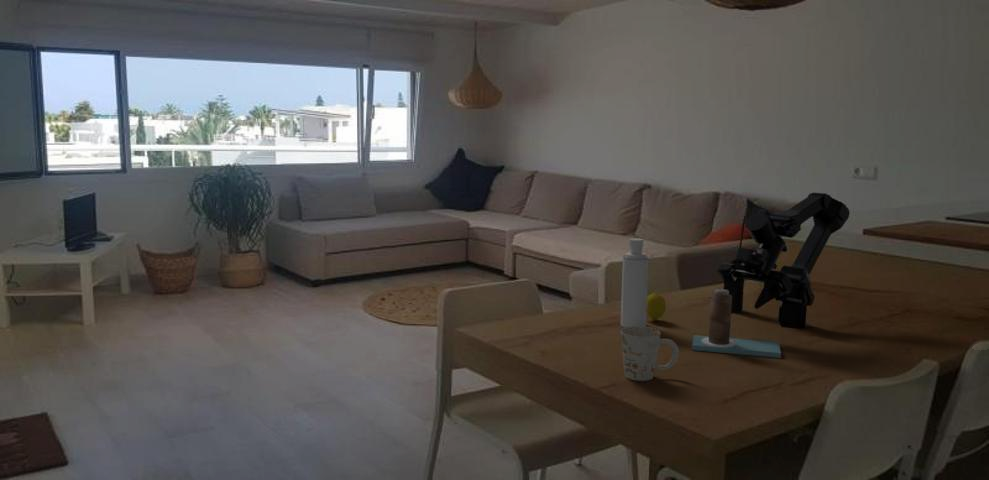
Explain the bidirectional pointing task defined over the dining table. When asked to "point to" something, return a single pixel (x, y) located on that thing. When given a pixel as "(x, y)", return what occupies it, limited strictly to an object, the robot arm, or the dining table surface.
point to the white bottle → (634, 285)
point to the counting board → (738, 347)
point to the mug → (643, 352)
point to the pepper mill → (720, 317)
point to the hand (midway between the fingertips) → (739, 304)
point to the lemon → (655, 306)
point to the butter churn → (738, 293)
